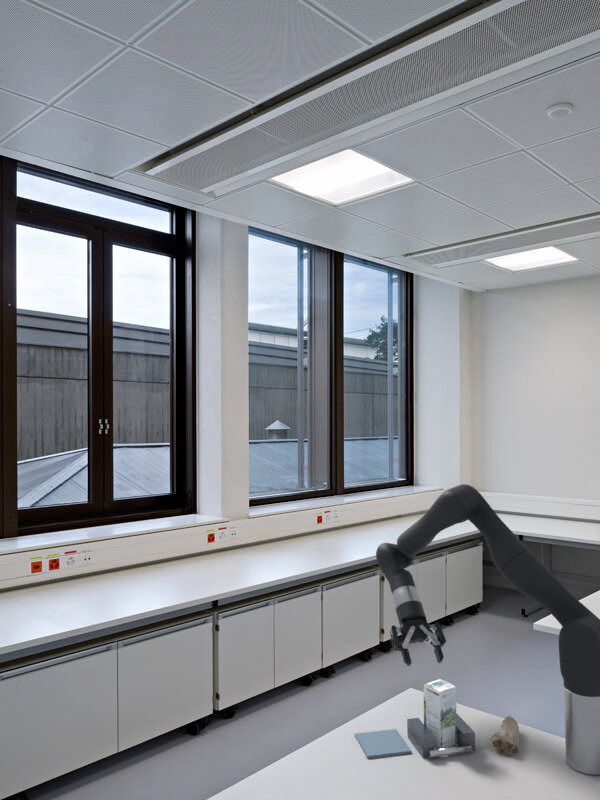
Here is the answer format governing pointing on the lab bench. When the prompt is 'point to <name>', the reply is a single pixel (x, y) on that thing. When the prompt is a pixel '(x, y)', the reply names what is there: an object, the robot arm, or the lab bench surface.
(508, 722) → the bone fragment
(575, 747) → the robot arm
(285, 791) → the lab bench surface
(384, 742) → the mat
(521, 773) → the lab bench surface
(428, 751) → the vise
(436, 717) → the syrup box
